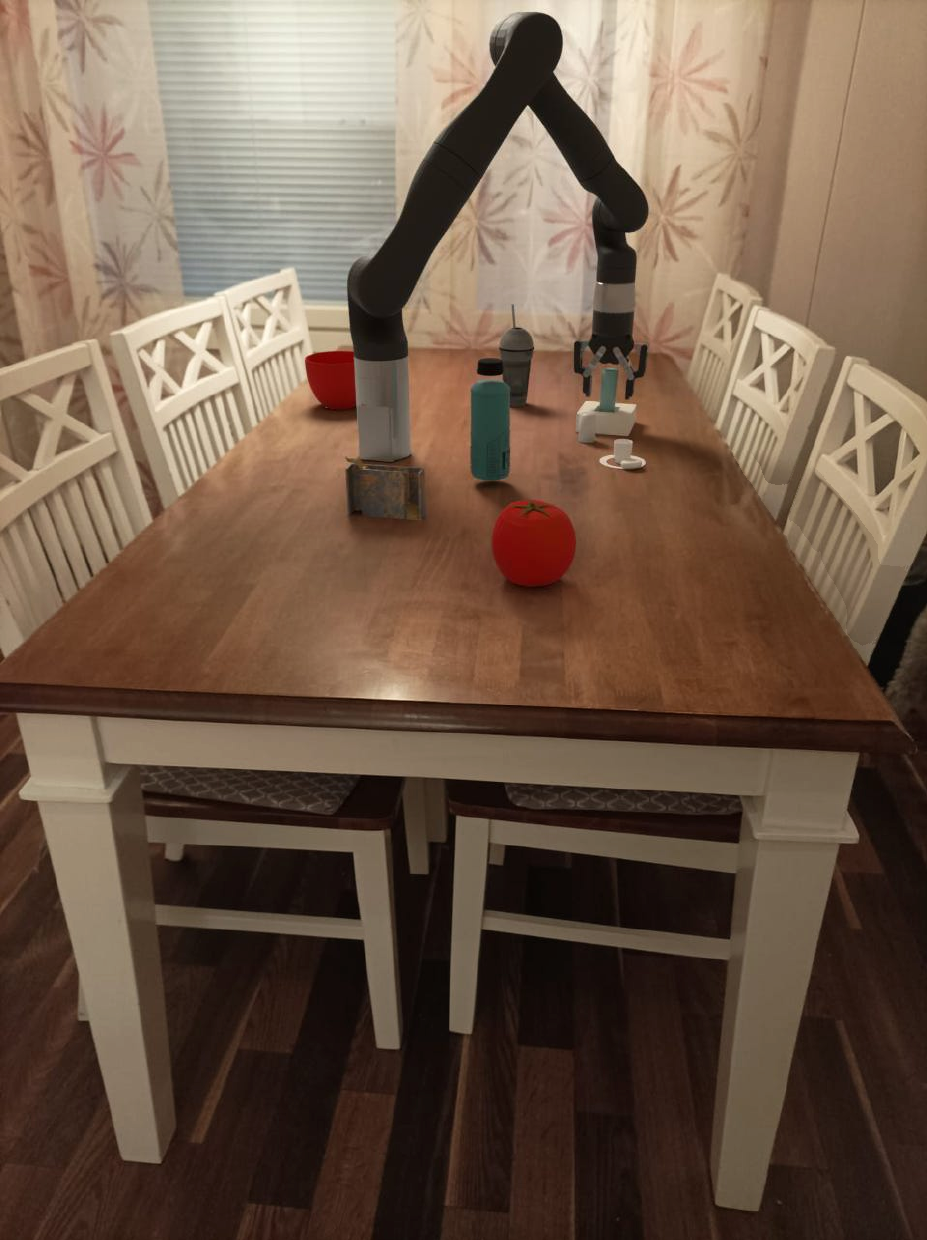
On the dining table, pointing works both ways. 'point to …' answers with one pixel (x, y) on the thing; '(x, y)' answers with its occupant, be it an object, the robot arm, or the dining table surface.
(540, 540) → the tomato
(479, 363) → the beverage bottle
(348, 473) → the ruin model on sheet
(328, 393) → the ceramic cup
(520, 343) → the beverage cup
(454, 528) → the dining table surface
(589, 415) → the short pin
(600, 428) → the hole block
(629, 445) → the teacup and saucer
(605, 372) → the long pin
